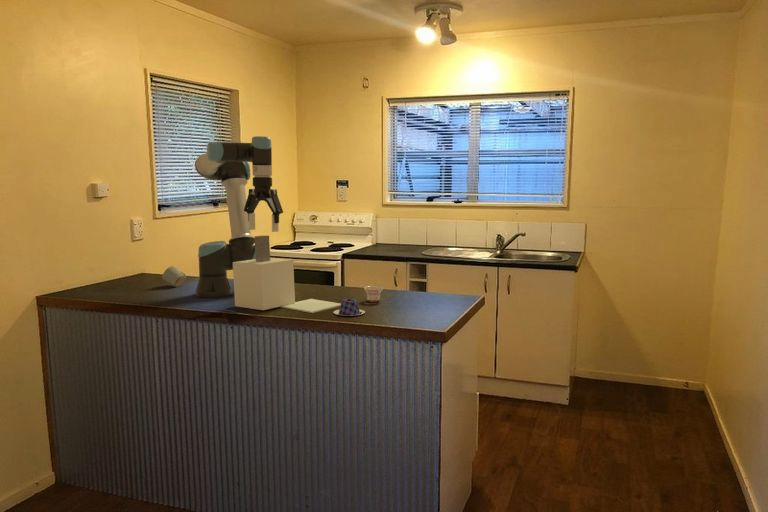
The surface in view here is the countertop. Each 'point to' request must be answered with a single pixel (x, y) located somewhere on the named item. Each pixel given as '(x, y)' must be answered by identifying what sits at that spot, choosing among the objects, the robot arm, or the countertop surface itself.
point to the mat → (311, 305)
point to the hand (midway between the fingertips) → (263, 230)
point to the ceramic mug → (174, 276)
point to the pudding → (349, 308)
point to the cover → (263, 279)
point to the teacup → (373, 293)
